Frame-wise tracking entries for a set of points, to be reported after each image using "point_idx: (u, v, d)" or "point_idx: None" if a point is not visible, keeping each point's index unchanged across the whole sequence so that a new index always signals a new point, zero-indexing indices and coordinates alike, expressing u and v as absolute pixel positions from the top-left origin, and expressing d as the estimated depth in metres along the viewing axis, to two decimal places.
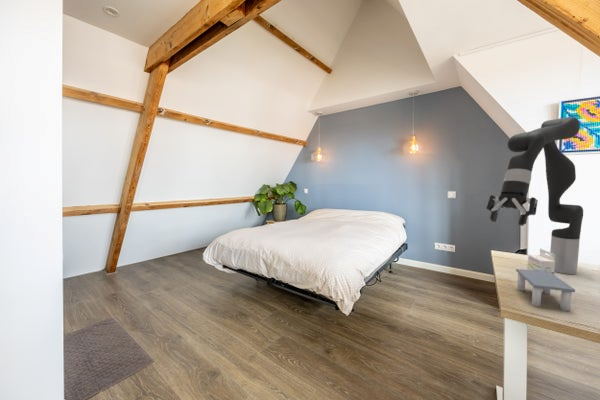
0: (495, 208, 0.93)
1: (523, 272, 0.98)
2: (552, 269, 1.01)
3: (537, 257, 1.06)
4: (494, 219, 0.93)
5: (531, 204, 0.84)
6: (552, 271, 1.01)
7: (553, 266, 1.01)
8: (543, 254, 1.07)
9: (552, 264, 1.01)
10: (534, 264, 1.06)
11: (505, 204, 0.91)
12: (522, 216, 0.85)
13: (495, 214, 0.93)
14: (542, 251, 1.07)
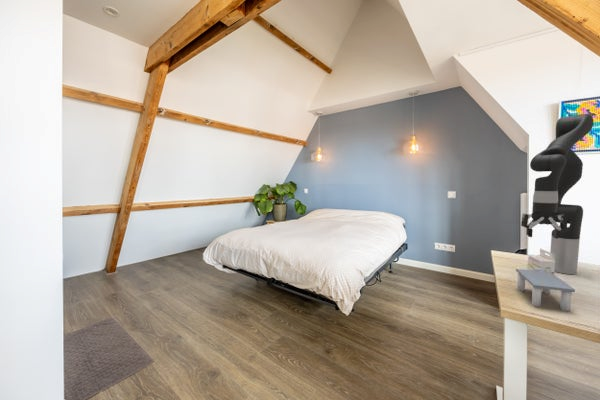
0: (532, 226, 1.04)
1: (523, 272, 0.98)
2: (552, 269, 1.01)
3: (537, 257, 1.06)
4: None
5: (564, 221, 1.00)
6: (552, 271, 1.01)
7: (553, 266, 1.01)
8: (543, 254, 1.07)
9: (552, 264, 1.01)
10: (534, 264, 1.06)
11: (541, 222, 1.03)
12: (558, 231, 1.01)
13: None
14: (542, 251, 1.07)
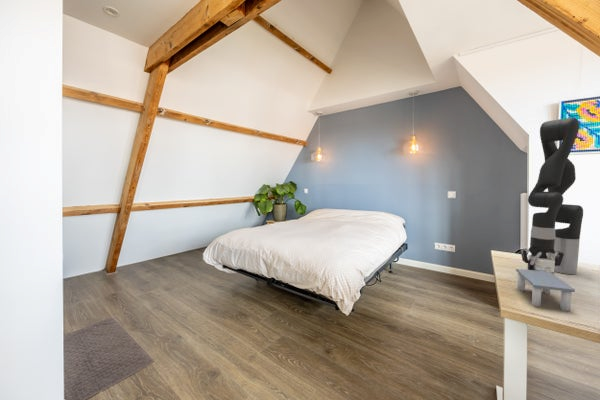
0: (533, 262, 1.06)
1: (523, 272, 0.98)
2: (552, 269, 1.01)
3: None
4: None
5: (560, 258, 1.02)
6: (552, 271, 1.01)
7: (553, 266, 1.01)
8: None
9: (552, 263, 1.01)
10: (534, 264, 1.06)
11: (540, 256, 1.05)
12: None
13: None
14: None
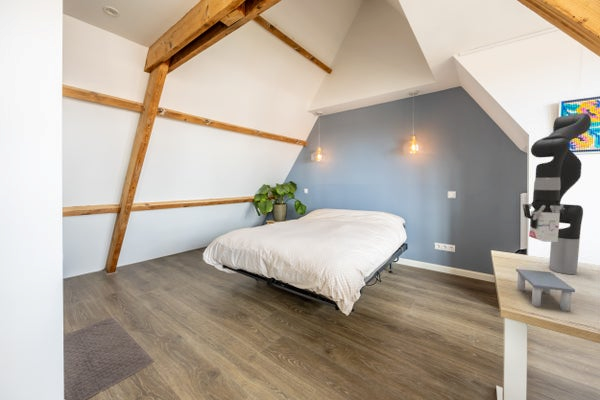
0: (536, 217, 0.98)
1: (523, 272, 0.98)
2: (557, 222, 0.94)
3: None
4: None
5: (565, 211, 0.94)
6: (557, 224, 0.94)
7: (558, 219, 0.94)
8: None
9: (556, 216, 0.94)
10: (537, 219, 0.98)
11: (543, 210, 0.97)
12: None
13: None
14: None
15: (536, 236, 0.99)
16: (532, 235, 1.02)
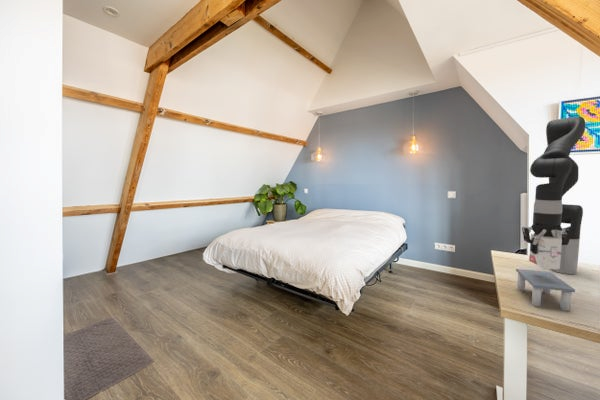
0: (537, 241, 0.91)
1: (523, 272, 0.98)
2: (559, 248, 0.87)
3: None
4: None
5: (568, 236, 0.87)
6: (559, 251, 0.87)
7: (560, 245, 0.87)
8: None
9: (558, 242, 0.87)
10: (538, 244, 0.91)
11: (544, 235, 0.90)
12: None
13: None
14: None
15: (537, 262, 0.92)
16: (532, 260, 0.95)
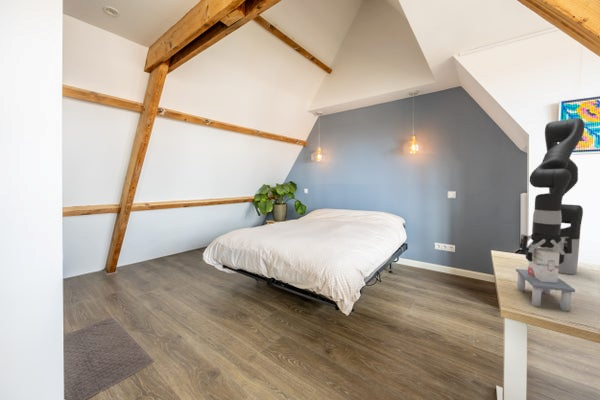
0: (532, 249, 0.92)
1: (523, 272, 0.98)
2: (556, 262, 0.88)
3: (539, 249, 0.92)
4: None
5: (569, 245, 0.88)
6: (556, 265, 0.88)
7: (557, 259, 0.87)
8: None
9: (556, 256, 0.87)
10: (536, 257, 0.92)
11: (542, 245, 0.91)
12: (561, 256, 0.89)
13: None
14: None
15: (535, 275, 0.93)
16: (531, 272, 0.95)
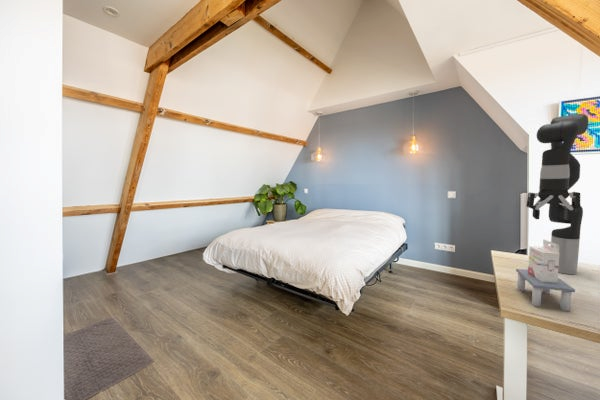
0: (539, 206, 0.91)
1: (523, 272, 0.98)
2: (556, 262, 0.88)
3: (539, 249, 0.92)
4: None
5: (577, 199, 0.86)
6: (556, 265, 0.88)
7: (557, 259, 0.87)
8: (547, 246, 0.93)
9: (556, 256, 0.87)
10: (536, 257, 0.92)
11: (549, 201, 0.89)
12: (569, 211, 0.88)
13: None
14: (545, 242, 0.93)
15: (535, 275, 0.93)
16: (531, 272, 0.95)
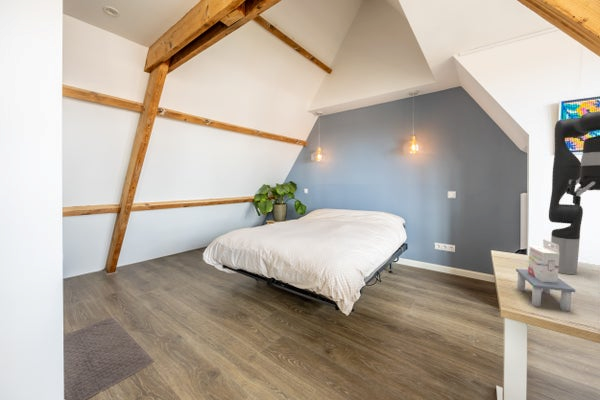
0: (580, 192, 0.93)
1: (523, 272, 0.98)
2: (556, 262, 0.88)
3: (539, 249, 0.92)
4: None
5: None
6: (556, 265, 0.88)
7: (557, 259, 0.87)
8: (547, 246, 0.93)
9: (556, 256, 0.87)
10: (536, 257, 0.92)
11: (591, 187, 0.92)
12: None
13: None
14: (545, 242, 0.93)
15: (535, 275, 0.93)
16: (531, 272, 0.95)
